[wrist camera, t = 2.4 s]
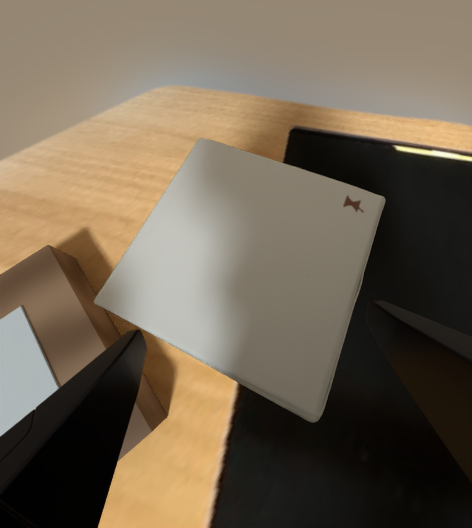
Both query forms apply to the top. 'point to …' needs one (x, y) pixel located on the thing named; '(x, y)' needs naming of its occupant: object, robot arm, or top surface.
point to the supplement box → (250, 271)
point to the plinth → (56, 339)
